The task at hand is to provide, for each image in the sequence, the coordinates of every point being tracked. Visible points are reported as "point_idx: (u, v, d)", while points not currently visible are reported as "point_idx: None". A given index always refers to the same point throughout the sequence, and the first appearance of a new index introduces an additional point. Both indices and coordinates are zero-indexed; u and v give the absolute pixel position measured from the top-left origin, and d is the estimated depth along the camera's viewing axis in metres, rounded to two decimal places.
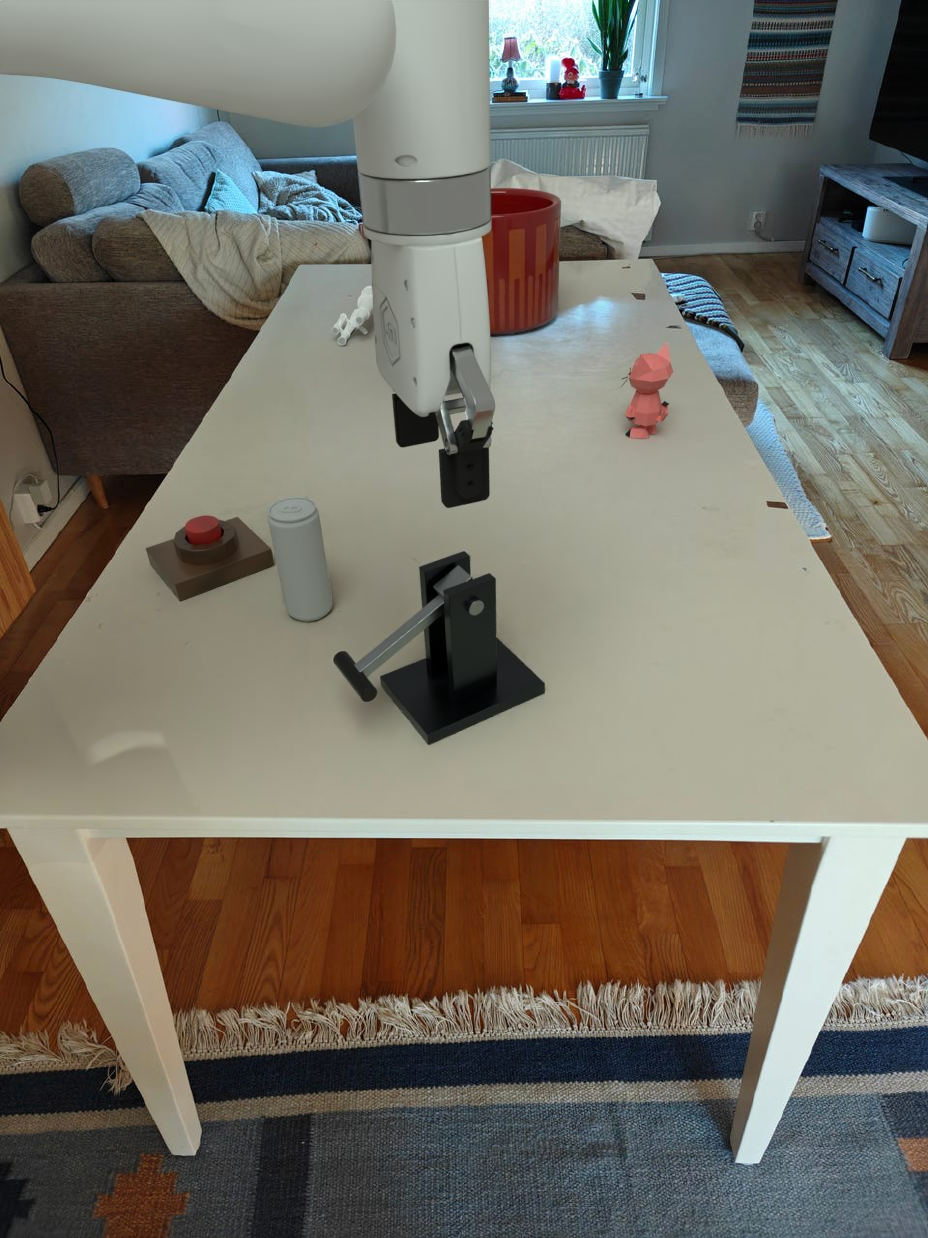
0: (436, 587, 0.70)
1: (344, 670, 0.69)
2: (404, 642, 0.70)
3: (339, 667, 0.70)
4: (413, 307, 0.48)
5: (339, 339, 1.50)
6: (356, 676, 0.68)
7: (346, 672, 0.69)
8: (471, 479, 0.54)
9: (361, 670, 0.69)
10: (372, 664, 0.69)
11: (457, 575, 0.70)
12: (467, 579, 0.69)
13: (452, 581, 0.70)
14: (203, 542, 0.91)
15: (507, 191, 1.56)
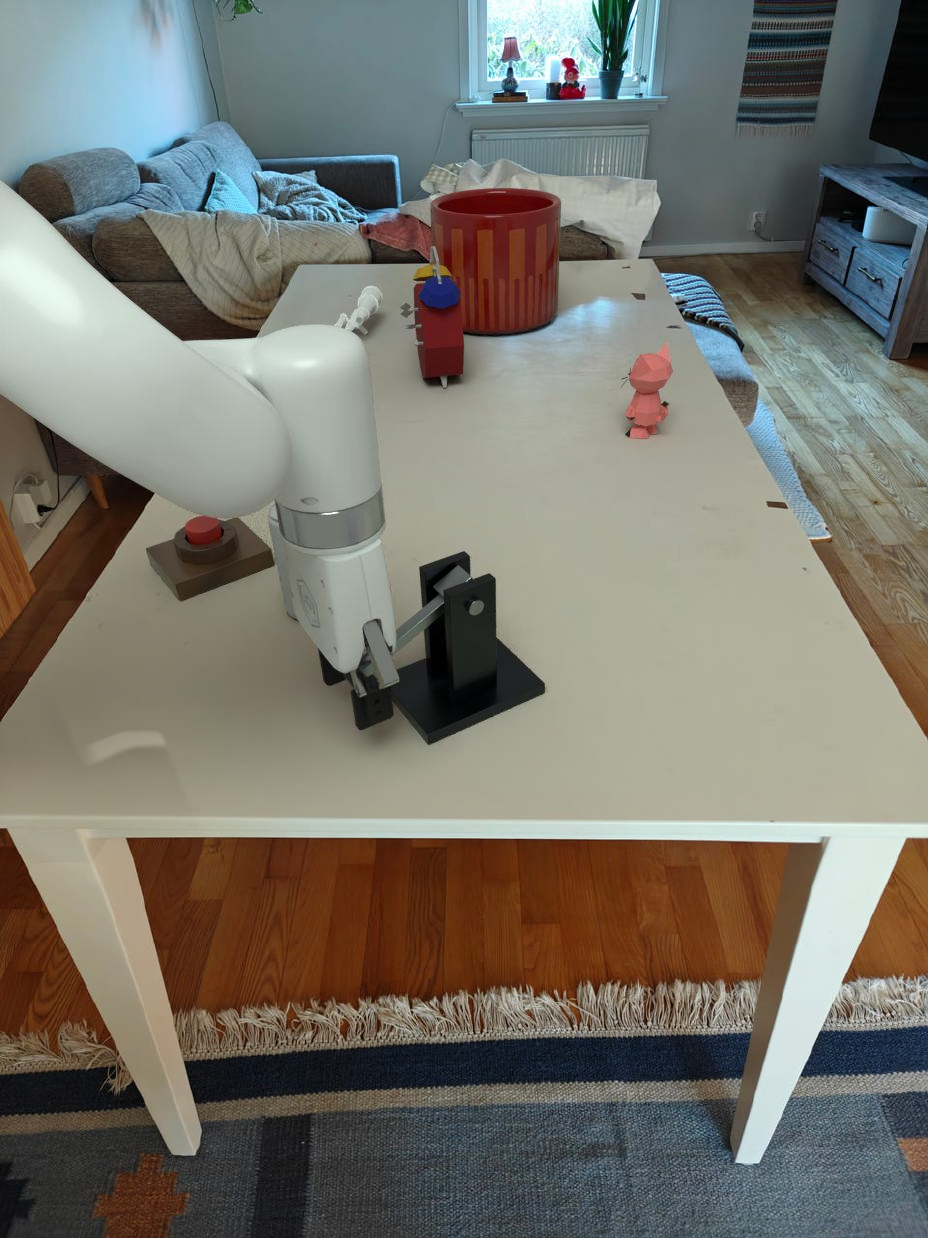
0: (436, 587, 0.70)
1: None
2: (404, 642, 0.70)
3: None
4: (330, 601, 0.59)
5: None
6: None
7: None
8: (378, 709, 0.67)
9: (361, 670, 0.69)
10: None
11: (457, 575, 0.70)
12: (467, 579, 0.69)
13: (452, 581, 0.70)
14: (203, 542, 0.91)
15: (507, 191, 1.56)
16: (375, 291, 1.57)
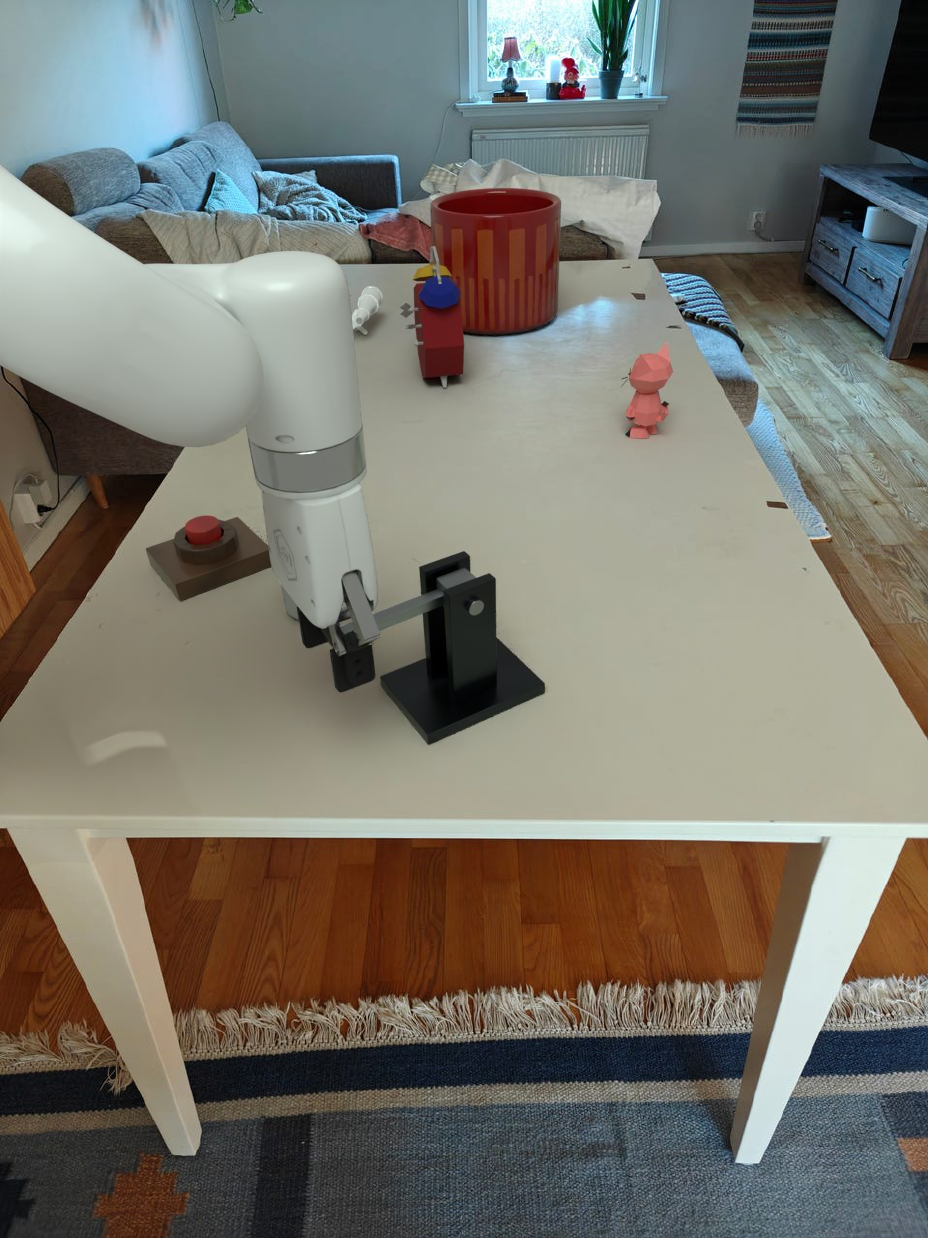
0: (439, 579, 0.70)
1: (328, 629, 0.66)
2: (395, 621, 0.68)
3: None
4: (307, 548, 0.56)
5: None
6: None
7: (329, 631, 0.66)
8: (359, 670, 0.64)
9: None
10: None
11: (463, 574, 0.70)
12: None
13: (457, 578, 0.70)
14: (203, 542, 0.91)
15: (507, 191, 1.56)
16: (375, 291, 1.57)
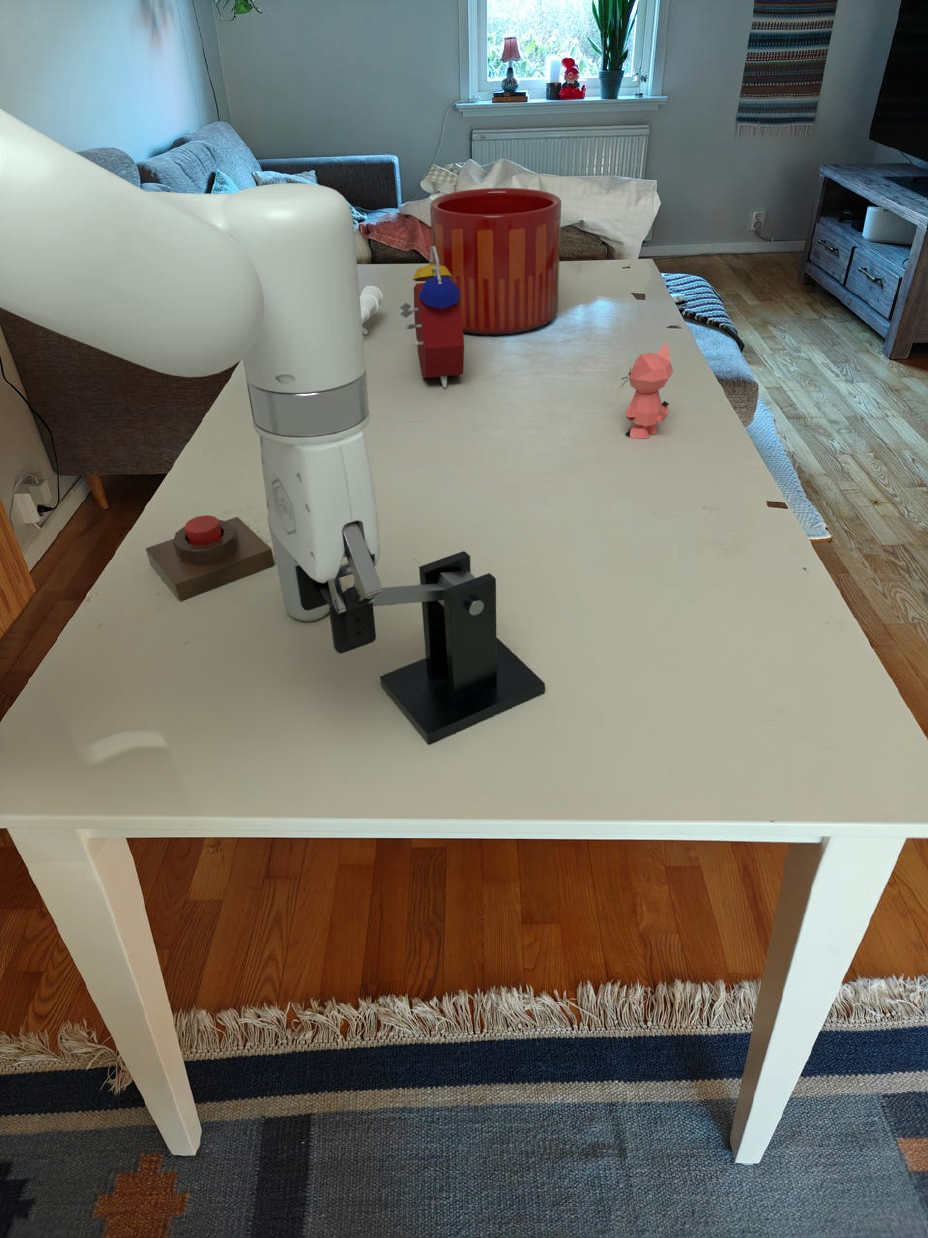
0: (444, 574, 0.70)
1: None
2: (395, 600, 0.67)
3: (323, 586, 0.65)
4: (307, 496, 0.54)
5: None
6: None
7: None
8: (359, 629, 0.62)
9: None
10: None
11: (466, 576, 0.70)
12: None
13: (461, 577, 0.70)
14: (203, 542, 0.91)
15: (507, 191, 1.56)
16: (375, 291, 1.57)
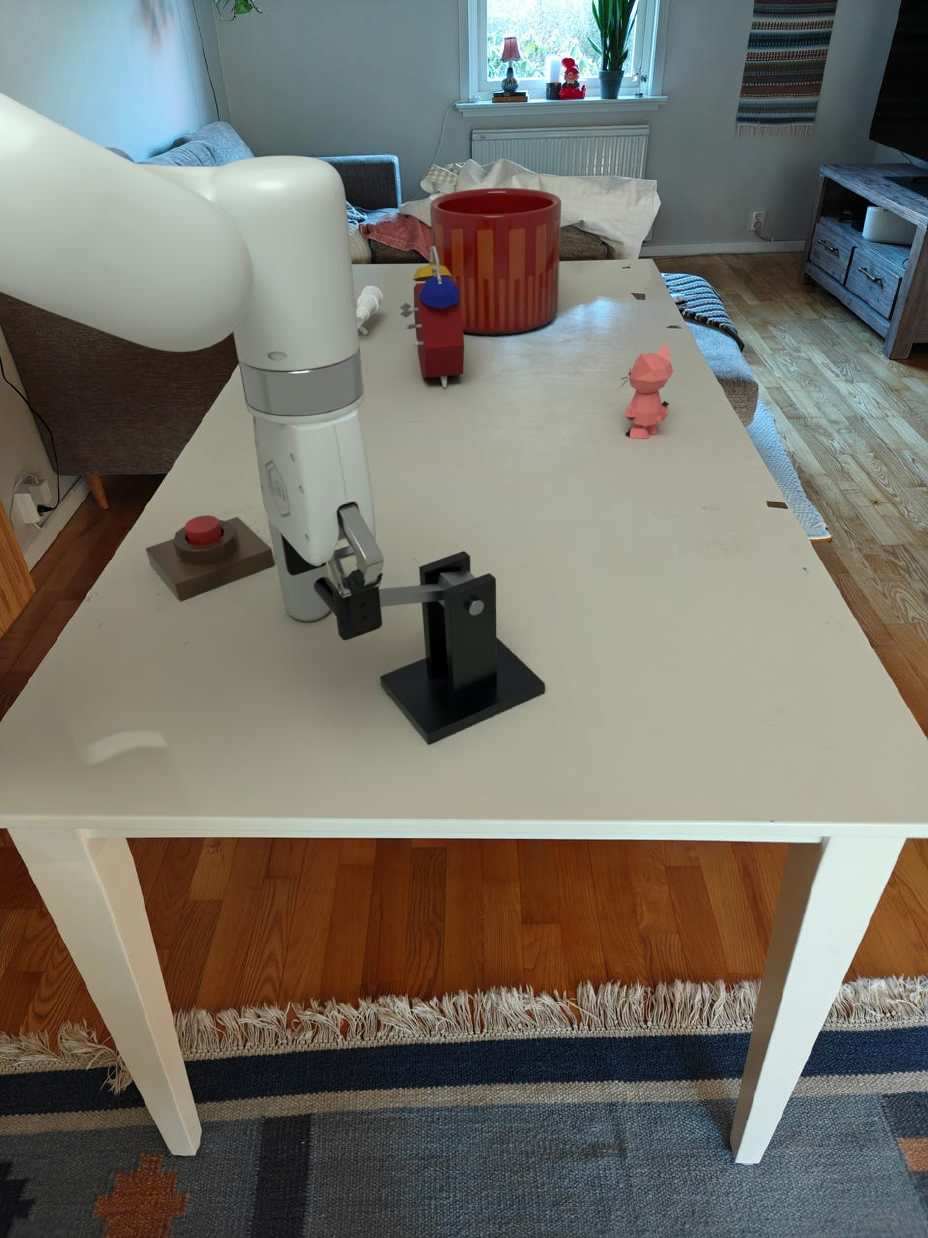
0: (444, 575, 0.70)
1: (329, 591, 0.64)
2: (395, 601, 0.67)
3: (323, 588, 0.65)
4: (301, 477, 0.53)
5: None
6: None
7: (331, 593, 0.64)
8: (365, 615, 0.59)
9: None
10: None
11: (466, 575, 0.70)
12: None
13: (461, 577, 0.70)
14: (203, 542, 0.91)
15: (507, 191, 1.56)
16: (375, 291, 1.57)
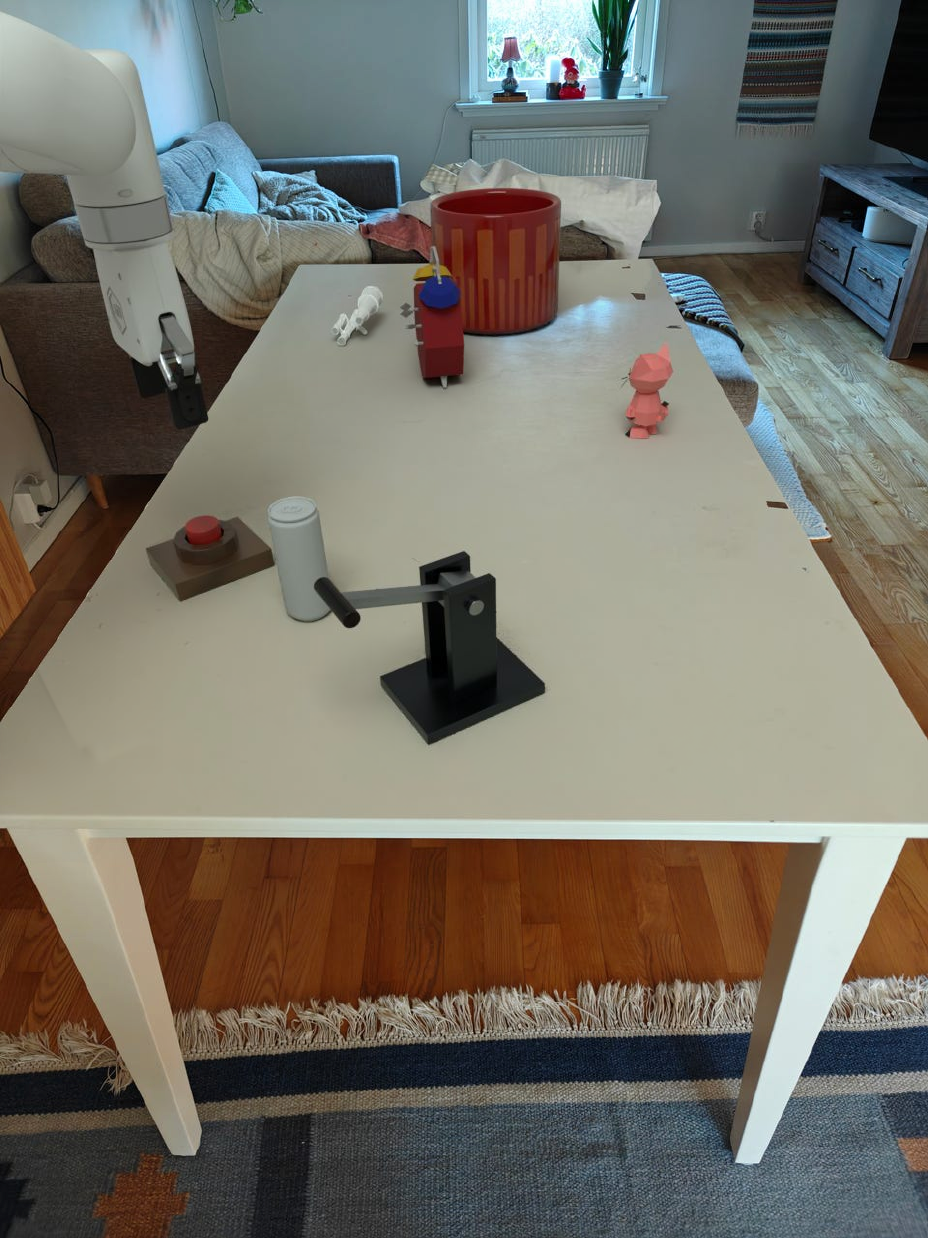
0: (444, 575, 0.70)
1: (329, 591, 0.64)
2: (395, 601, 0.67)
3: (323, 588, 0.65)
4: (127, 290, 0.72)
5: (339, 339, 1.50)
6: (344, 599, 0.64)
7: (331, 593, 0.64)
8: (191, 407, 0.79)
9: (348, 599, 0.64)
10: (360, 600, 0.65)
11: (466, 575, 0.70)
12: None
13: (461, 577, 0.70)
14: (203, 542, 0.91)
15: (507, 191, 1.56)
16: (375, 291, 1.57)
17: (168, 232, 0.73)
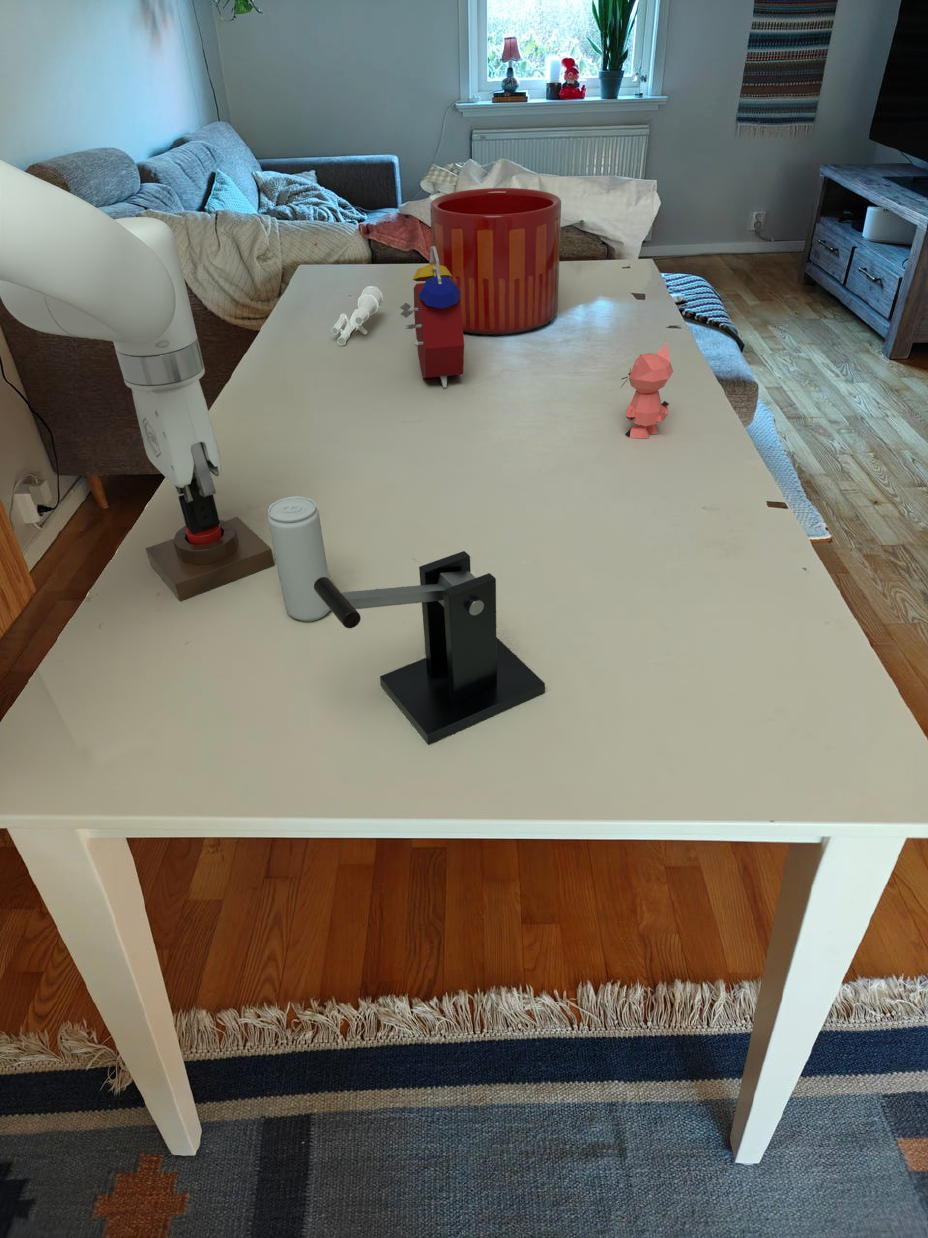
0: (444, 575, 0.70)
1: (329, 591, 0.64)
2: (395, 601, 0.67)
3: (323, 588, 0.65)
4: (163, 426, 0.80)
5: (339, 339, 1.50)
6: (344, 599, 0.64)
7: (331, 593, 0.64)
8: (205, 515, 0.90)
9: (348, 599, 0.64)
10: (360, 600, 0.65)
11: (466, 575, 0.70)
12: None
13: (461, 577, 0.70)
14: None
15: (507, 191, 1.56)
16: (375, 291, 1.57)
17: (199, 371, 0.81)
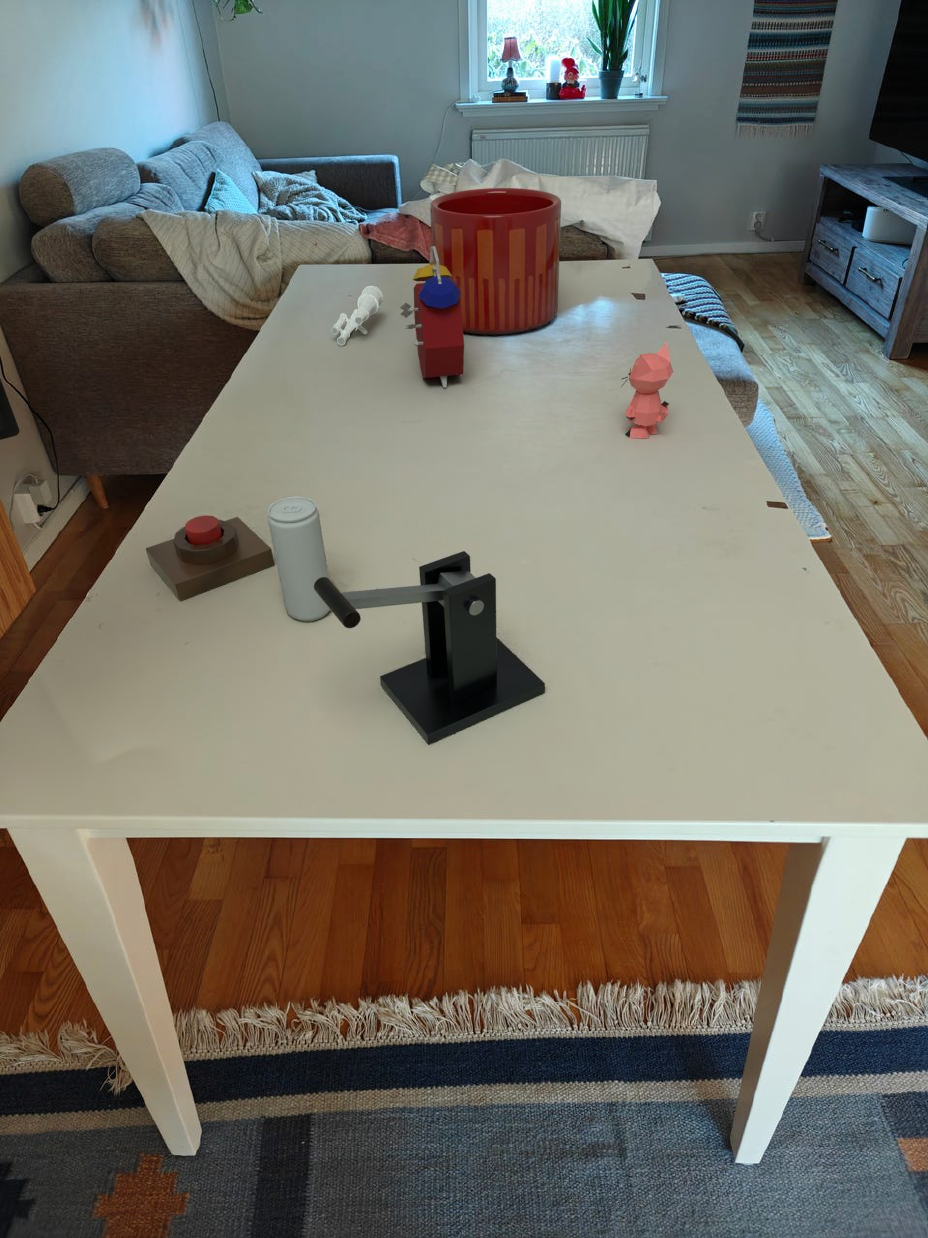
0: (444, 575, 0.70)
1: (329, 591, 0.64)
2: (395, 601, 0.67)
3: (323, 588, 0.65)
4: None
5: (338, 339, 1.50)
6: (344, 599, 0.64)
7: (331, 593, 0.64)
8: None
9: (348, 599, 0.64)
10: (360, 600, 0.65)
11: (466, 575, 0.70)
12: None
13: (461, 577, 0.70)
14: (203, 542, 0.91)
15: (507, 191, 1.56)
16: (375, 291, 1.57)
17: None
